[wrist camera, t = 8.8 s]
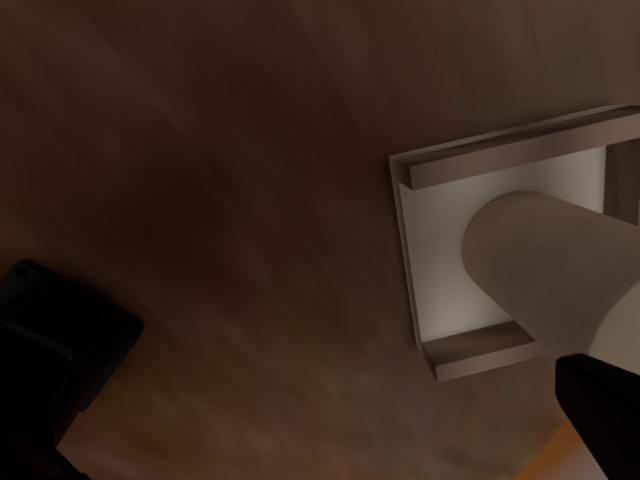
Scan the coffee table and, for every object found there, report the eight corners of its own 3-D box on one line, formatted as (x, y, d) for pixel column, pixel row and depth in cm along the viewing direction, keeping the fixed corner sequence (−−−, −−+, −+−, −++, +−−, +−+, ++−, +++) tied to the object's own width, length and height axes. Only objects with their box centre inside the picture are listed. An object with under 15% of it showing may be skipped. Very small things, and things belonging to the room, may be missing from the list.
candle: (484, 310, 21) (653, 482, 12) (442, 227, 19) (605, 352, 10) (579, 258, 20) (836, 393, 11) (546, 167, 19) (822, 237, 9)
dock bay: (416, 345, 23) (437, 382, 20) (388, 156, 19) (409, 166, 16) (598, 300, 23) (647, 330, 20) (608, 105, 19) (669, 106, 16)
